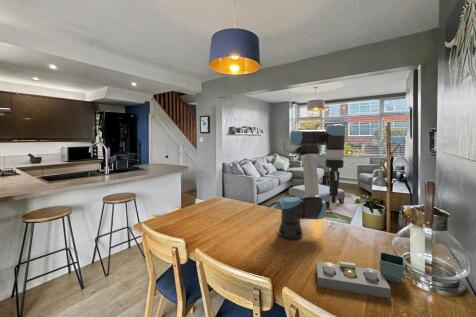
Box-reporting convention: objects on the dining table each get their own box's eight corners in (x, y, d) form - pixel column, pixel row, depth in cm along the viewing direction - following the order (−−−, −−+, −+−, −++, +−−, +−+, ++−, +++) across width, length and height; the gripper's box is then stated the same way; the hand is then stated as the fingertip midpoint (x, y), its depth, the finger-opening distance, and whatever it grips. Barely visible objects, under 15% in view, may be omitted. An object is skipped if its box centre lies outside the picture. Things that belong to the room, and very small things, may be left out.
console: (318, 286, 90) (318, 277, 89) (315, 269, 101) (316, 261, 101) (390, 298, 82) (390, 288, 82) (379, 278, 94) (379, 270, 94)
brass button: (344, 284, 90) (345, 273, 90) (342, 278, 94) (343, 267, 94) (356, 286, 89) (356, 275, 89) (353, 280, 93) (354, 269, 93)
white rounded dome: (366, 285, 88) (366, 273, 88) (363, 278, 92) (363, 267, 92) (378, 286, 87) (379, 275, 86) (375, 280, 91) (375, 268, 91)
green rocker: (340, 267, 95) (340, 263, 95) (339, 265, 98) (339, 261, 98) (355, 270, 93) (355, 265, 94) (354, 267, 96) (354, 263, 96)
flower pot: (378, 269, 101) (379, 251, 100) (402, 276, 96) (403, 257, 95) (378, 279, 93) (379, 260, 93) (403, 287, 88) (405, 266, 88)
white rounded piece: (324, 278, 92) (324, 267, 92) (323, 272, 97) (323, 261, 96) (335, 280, 91) (335, 268, 91) (333, 273, 95) (334, 263, 95)
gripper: (346, 160, 92) (344, 214, 94) (340, 157, 104) (339, 205, 107) (327, 160, 94) (325, 212, 96) (324, 157, 106) (322, 204, 109)
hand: (332, 208), depth 101 cm, fingers closed
